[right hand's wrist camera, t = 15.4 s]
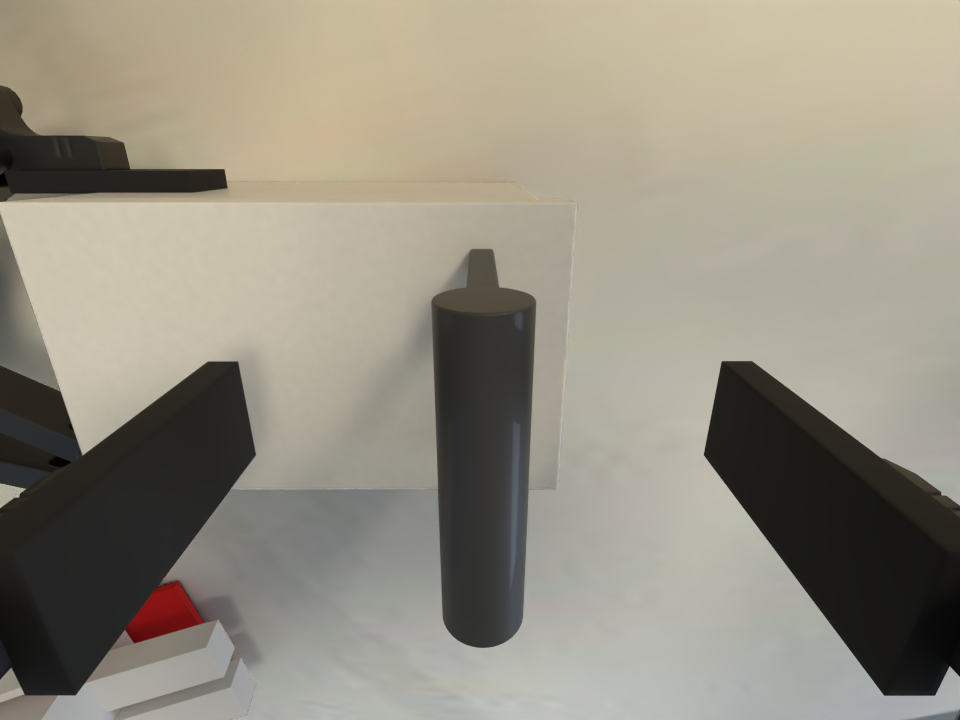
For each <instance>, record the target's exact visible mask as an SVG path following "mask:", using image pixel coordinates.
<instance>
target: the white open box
mask: <svg viewBox="0 0 960 720" xmlns="http://www.w3.org/2000/svg"><path fill="white" fill-rule="evenodd" d="M227 187H228V188H227V189H219V190H211V191H203V192H195V193H90V194H79V195H69V196H58V197H47V198H37V199H537V198H536V197H534V196H533V195H532V194H530V193H529V192H527V191H526V190H525V189H523V188H522V187H520V186H519V185H518V184H516V183H514V182H227Z"/></svg>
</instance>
